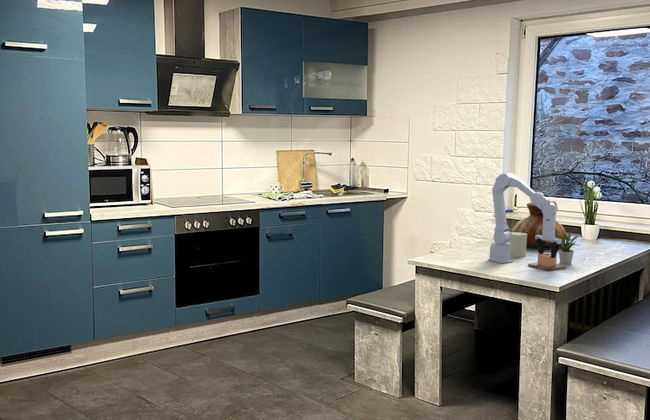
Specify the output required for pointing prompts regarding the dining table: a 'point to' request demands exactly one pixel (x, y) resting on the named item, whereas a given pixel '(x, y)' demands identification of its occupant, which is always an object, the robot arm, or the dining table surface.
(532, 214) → the jug
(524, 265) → the dining table surface
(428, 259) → the dining table surface
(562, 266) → the keeper
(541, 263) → the open box
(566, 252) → the house plant
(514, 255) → the can
